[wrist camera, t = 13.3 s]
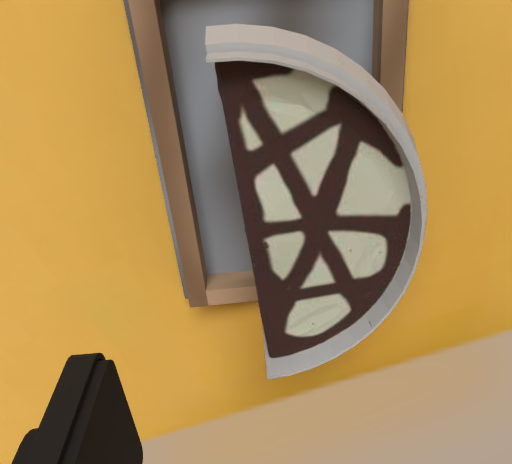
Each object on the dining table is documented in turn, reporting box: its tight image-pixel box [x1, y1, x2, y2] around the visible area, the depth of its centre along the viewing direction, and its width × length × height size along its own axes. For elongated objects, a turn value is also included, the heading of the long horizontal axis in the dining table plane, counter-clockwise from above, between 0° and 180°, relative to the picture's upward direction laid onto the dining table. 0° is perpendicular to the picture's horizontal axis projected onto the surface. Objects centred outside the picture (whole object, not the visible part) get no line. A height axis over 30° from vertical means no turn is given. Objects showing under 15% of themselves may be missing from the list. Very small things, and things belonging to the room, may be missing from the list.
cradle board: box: [123, 0, 409, 307], centre depth 23 cm, size 12×18×2 cm, turn 5°
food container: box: [205, 24, 427, 380], centre depth 19 cm, size 12×6×10 cm, turn 8°
